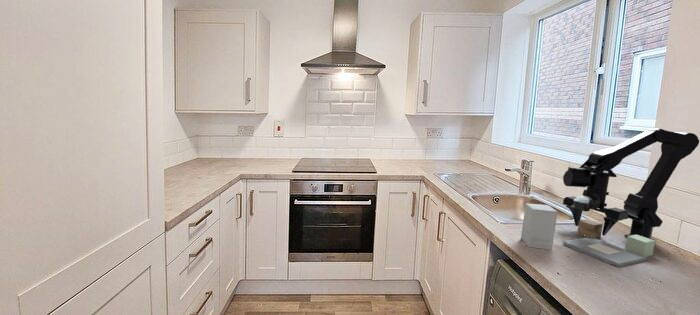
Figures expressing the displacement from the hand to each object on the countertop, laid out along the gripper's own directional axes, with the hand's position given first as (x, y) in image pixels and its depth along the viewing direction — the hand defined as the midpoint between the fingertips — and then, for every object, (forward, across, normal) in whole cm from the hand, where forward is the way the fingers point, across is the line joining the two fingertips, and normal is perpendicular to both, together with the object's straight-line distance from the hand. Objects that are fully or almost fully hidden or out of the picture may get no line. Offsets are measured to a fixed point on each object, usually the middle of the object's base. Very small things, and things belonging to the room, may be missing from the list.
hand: (589, 230), depth 117 cm
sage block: (+2, +15, 0) cm, 15 cm away
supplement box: (+2, 0, -27) cm, 27 cm away
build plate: (+2, +11, -11) cm, 16 cm away
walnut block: (+2, 0, 0) cm, 2 cm away
